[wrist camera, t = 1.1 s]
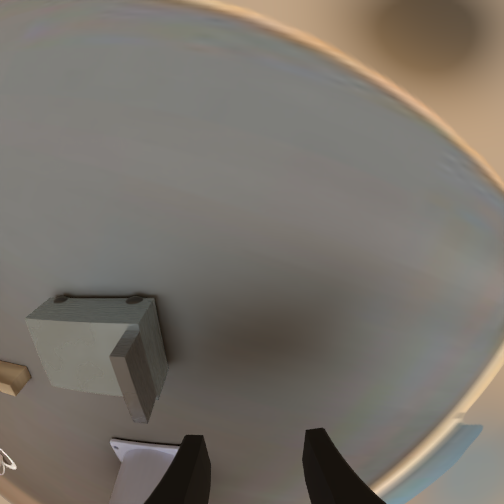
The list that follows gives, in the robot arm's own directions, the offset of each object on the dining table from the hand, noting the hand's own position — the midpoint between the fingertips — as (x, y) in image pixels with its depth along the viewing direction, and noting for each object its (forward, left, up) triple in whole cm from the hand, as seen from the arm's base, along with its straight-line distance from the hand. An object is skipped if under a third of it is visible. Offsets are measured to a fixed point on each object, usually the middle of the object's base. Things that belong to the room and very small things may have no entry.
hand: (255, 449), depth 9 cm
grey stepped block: (0, +10, -9) cm, 13 cm away
